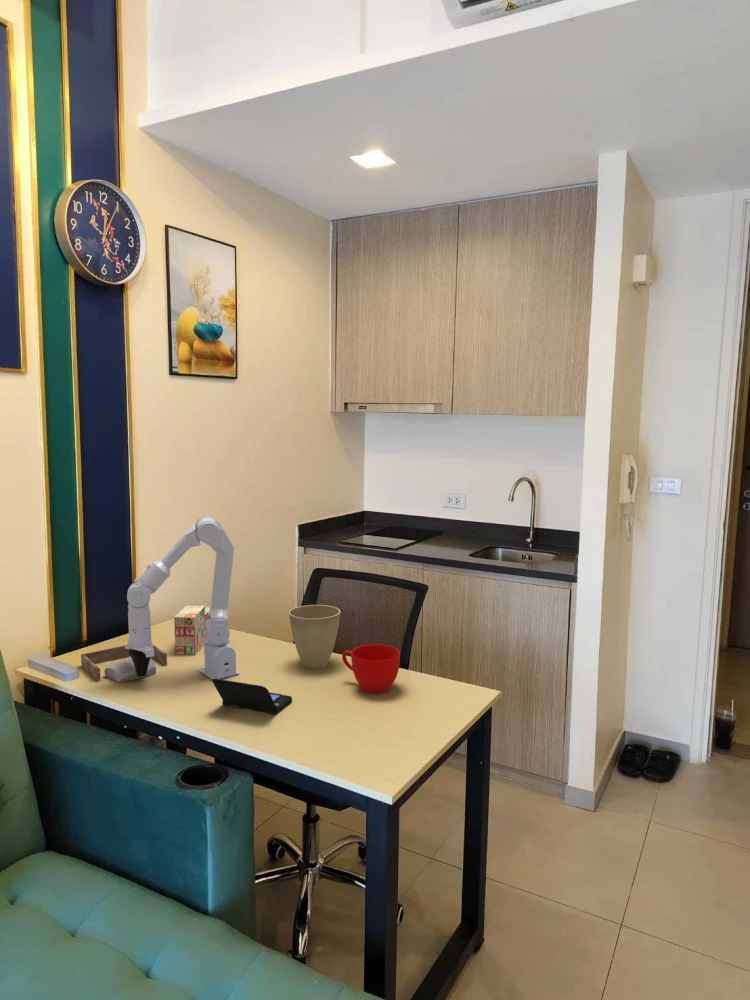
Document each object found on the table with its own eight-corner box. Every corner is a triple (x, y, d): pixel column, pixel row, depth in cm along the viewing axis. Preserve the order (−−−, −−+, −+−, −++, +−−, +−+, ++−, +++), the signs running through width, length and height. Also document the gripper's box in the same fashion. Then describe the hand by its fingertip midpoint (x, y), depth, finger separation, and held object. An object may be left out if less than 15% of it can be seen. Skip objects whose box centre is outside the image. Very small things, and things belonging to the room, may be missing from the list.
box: (167, 665, 199) (166, 653, 198) (97, 681, 187) (96, 669, 186) (148, 651, 210) (147, 640, 210) (81, 666, 198) (80, 654, 198)
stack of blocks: (195, 633, 228) (194, 597, 227) (213, 633, 228) (213, 597, 227) (175, 655, 207) (173, 616, 206) (195, 656, 207) (194, 616, 206)
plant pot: (351, 664, 200) (351, 611, 198) (312, 678, 190) (312, 622, 188) (317, 651, 210) (316, 601, 208) (279, 664, 200) (278, 611, 198)
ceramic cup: (355, 673, 193) (355, 638, 192) (408, 685, 185) (408, 649, 183) (329, 688, 182) (329, 652, 181) (384, 702, 174) (384, 664, 172)
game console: (294, 701, 174) (293, 667, 173) (266, 724, 162) (265, 687, 161) (242, 692, 180) (241, 659, 179) (211, 713, 168) (210, 677, 166)
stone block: (160, 678, 194) (140, 663, 200) (160, 663, 192) (141, 649, 198) (121, 693, 185) (102, 677, 191) (122, 677, 183) (102, 661, 189)
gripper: (115, 623, 189) (118, 671, 190) (134, 636, 178) (136, 687, 179) (141, 619, 193) (143, 665, 195) (161, 631, 182) (162, 680, 184)
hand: (141, 675), depth 187 cm, fingers closed
